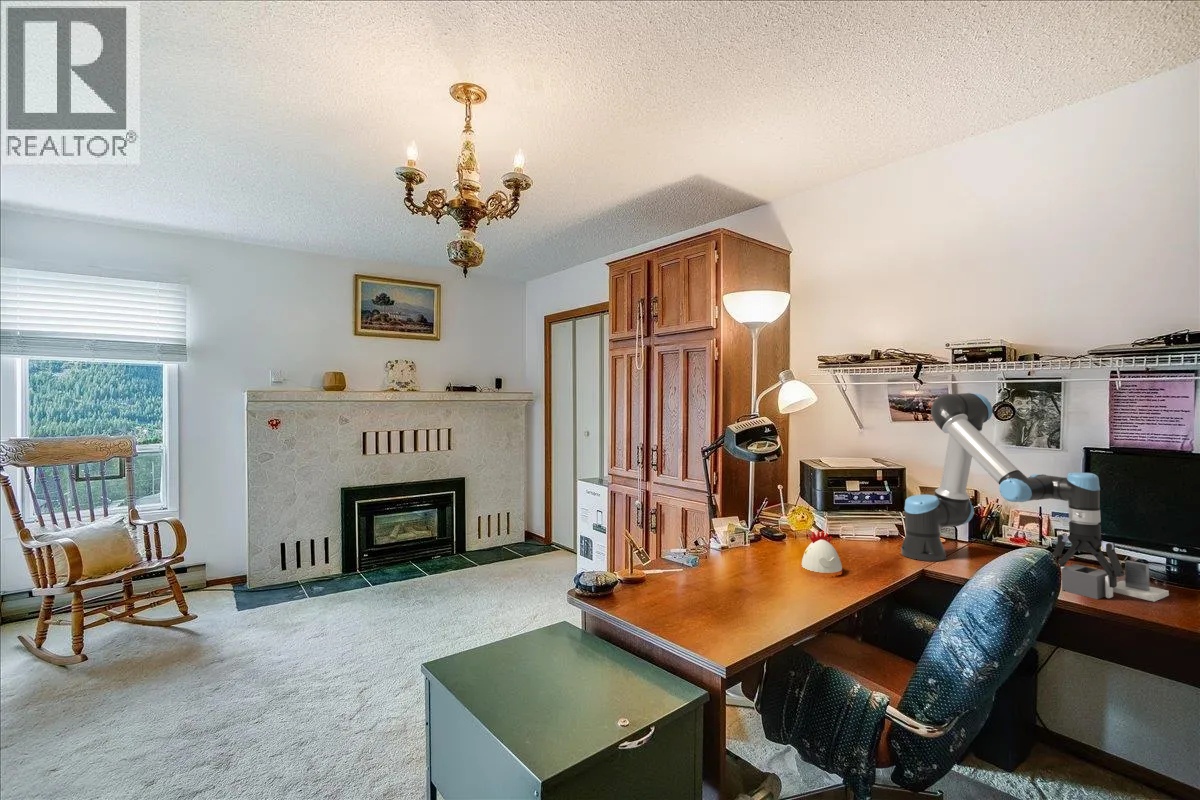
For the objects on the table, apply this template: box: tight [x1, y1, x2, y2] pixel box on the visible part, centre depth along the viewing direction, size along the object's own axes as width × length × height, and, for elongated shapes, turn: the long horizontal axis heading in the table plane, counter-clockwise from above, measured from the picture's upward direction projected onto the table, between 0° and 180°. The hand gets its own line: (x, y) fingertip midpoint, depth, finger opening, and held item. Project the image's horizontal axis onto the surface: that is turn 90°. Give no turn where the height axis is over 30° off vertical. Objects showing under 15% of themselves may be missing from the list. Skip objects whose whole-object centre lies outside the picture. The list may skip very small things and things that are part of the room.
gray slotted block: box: [1061, 563, 1108, 600], centre depth 173 cm, size 9×9×7 cm
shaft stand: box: [1113, 560, 1170, 603], centre depth 171 cm, size 11×10×10 cm
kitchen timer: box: [801, 530, 843, 573], centre depth 200 cm, size 14×14×15 cm
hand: (1086, 591), depth 173 cm, fingers open, 11 cm apart
